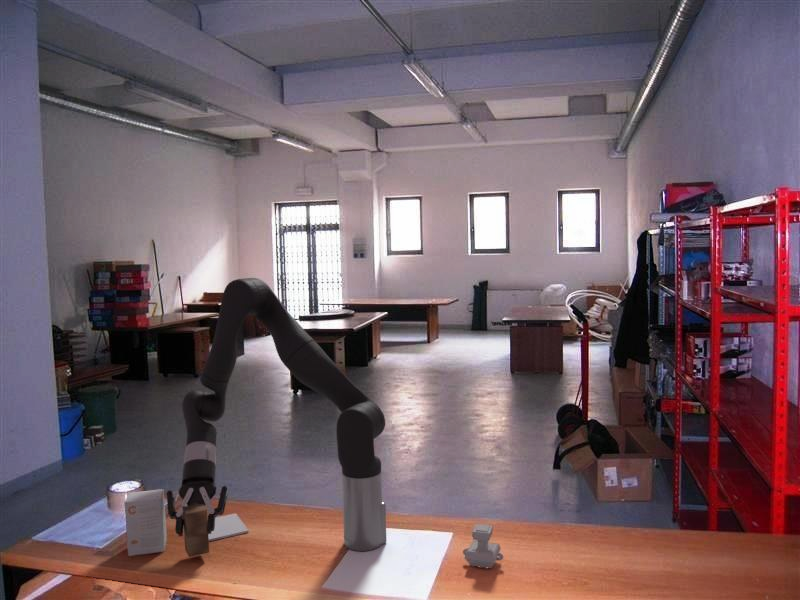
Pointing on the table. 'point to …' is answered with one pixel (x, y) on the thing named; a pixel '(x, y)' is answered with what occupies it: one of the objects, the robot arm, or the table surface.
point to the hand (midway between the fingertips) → (194, 533)
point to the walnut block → (195, 529)
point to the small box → (145, 522)
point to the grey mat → (227, 527)
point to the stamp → (482, 547)
